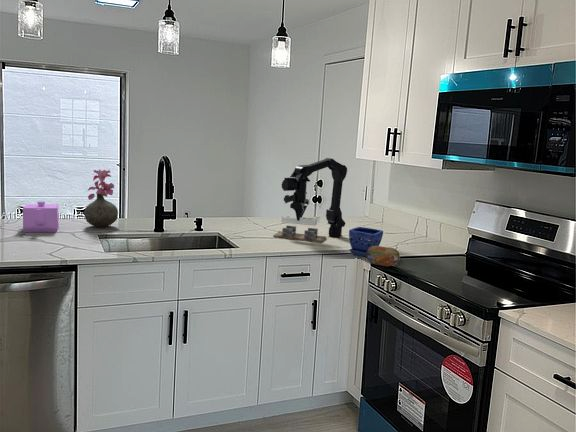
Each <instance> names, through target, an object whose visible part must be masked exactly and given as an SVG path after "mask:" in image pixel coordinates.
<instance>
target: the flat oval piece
mask: <svg viewBox="0 0 576 432" xmlns="http://www.w3.org/2000/svg"><path fill="white" fill-rule="evenodd" d="M365 257H366V259H367V261H368V262H369V263H370V264H372V265H377V266H382V267H386V268H387V267H388V268H390V267H389V266H390V265H393V267H395V266H396V265H398V264H399V262H400V259H401V254H400V252H399V251H398V250H397V248H394V247H389V246H388V247H387V246H381V245H379V246H371V247H370V248H369V249H368V250H367V252H366V256H365Z"/></svg>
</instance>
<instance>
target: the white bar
mask: <svg viewBox="0 0 576 432" xmlns="http://www.w3.org/2000/svg"><path fill="white" fill-rule="evenodd" d="M317 222H318V218H313V217H312V218H311V217H303V216H302V217H301V218H300V220H299V221H297V217H296V216H290V215H289V216H288V215H283V216H282V217H281V222H280V223H283V224H291V225H304V226H313V227H315V226H316V225H317Z"/></svg>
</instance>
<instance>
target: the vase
mask: <svg viewBox="0 0 576 432" xmlns="http://www.w3.org/2000/svg"><path fill="white" fill-rule="evenodd" d="M93 173H94V174H95V173H96V174H97V175H93V178H92V179H93V182H94V181H95V180H97V179H98V180H97V181H95V182H94V186H89V188H88V189H87V192H88V191H90V190H91V191H95V190H96V193H90V194H89V195H88V197H87V199H88V200H89V201H90V200H93V201H92V202H90V203H89V204H87V206H85V209H84V219H85V221H86V222H87V223H88V224H89V225H91V226H93V227H94V228H95V227H96V228H95V229H106V227H107V228H108V227H109V226H111V225H113V224H114V223H115V222H116V221H117V219H118V216H119V211H118V208H117V206H116V205H115V203H114V204H113V203H112V202H111V201H108V200H106V199H105V197H108V195H110V196H113V194H114V190H113V189H115V184H114V183H112V182H110V183H109V184H108V183H107V182H106V181H105V179H106V178H107V177H109V178H112V176H111V174H109V173H111V170H106V169H103V170H101V169H98V170H96V169H93ZM100 186H101V187H100ZM95 194H96V195H95ZM95 197H96V199H95V200H94V198H95Z"/></svg>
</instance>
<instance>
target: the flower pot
mask: <svg viewBox="0 0 576 432" xmlns="http://www.w3.org/2000/svg"><path fill="white" fill-rule="evenodd" d="M383 235H384V230H381V229H376V228H370V227H363V226H357V227H353V228H351V229H349V230H348V241H349V245H350V248H349V253H351V254H353V255H355V256H356V255H357V256H362V257H366V252H367V250H368V249H369V248H370V247H371V246H381V241H382V238H383Z"/></svg>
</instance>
